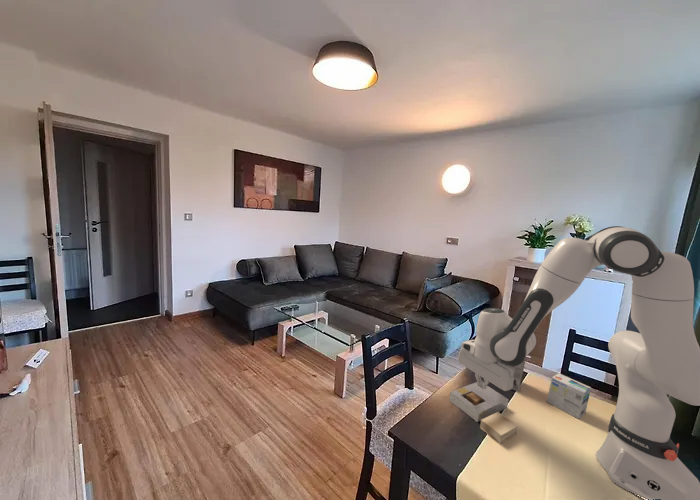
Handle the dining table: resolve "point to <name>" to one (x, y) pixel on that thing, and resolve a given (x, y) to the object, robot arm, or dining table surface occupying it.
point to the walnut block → (474, 398)
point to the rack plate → (488, 406)
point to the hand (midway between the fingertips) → (481, 387)
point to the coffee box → (518, 375)
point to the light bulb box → (569, 395)
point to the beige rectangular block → (498, 427)
